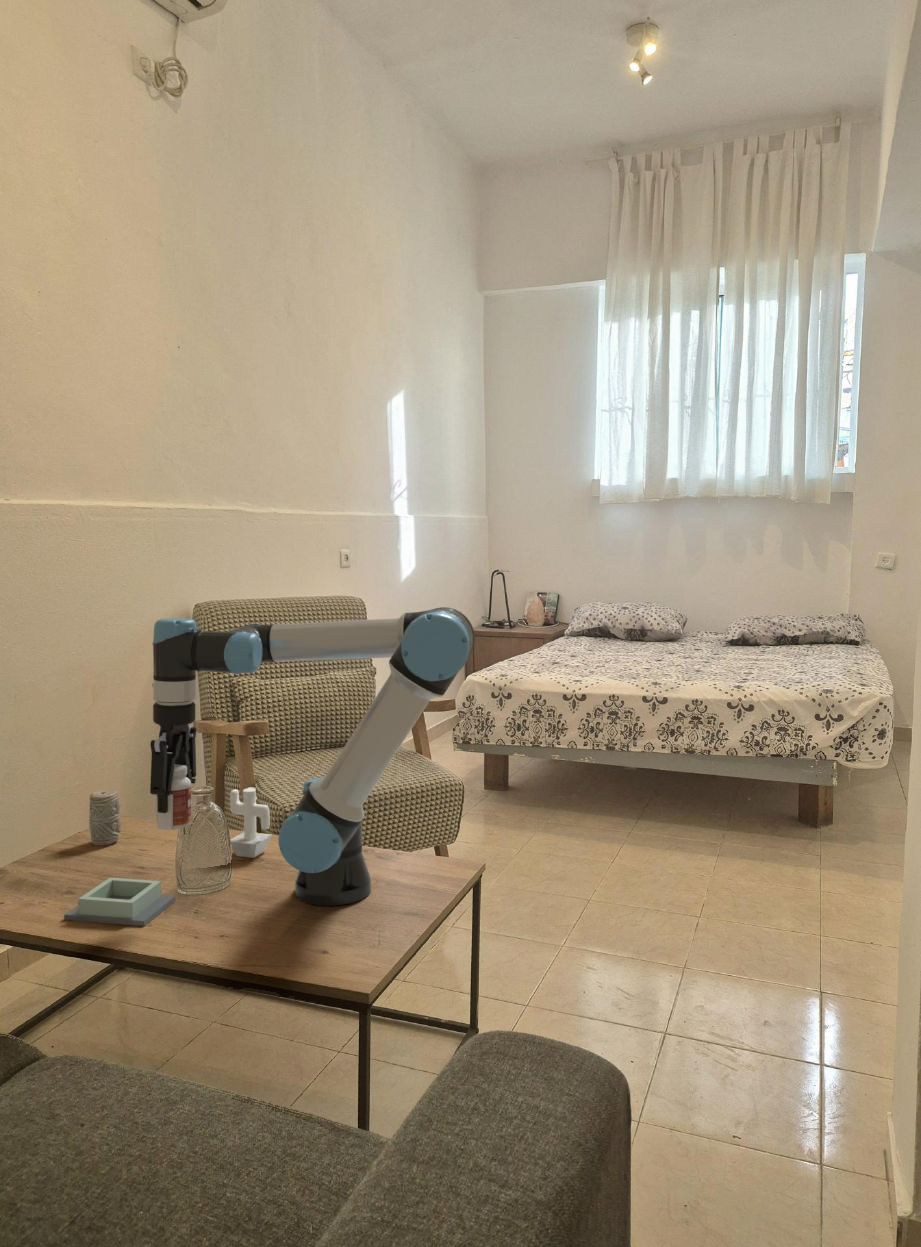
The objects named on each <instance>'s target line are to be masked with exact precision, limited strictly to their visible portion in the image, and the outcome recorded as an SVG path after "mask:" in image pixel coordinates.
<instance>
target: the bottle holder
mask: <svg viewBox="0 0 921 1247" xmlns="http://www.w3.org/2000/svg"><path fill="white" fill-rule="evenodd" d="M77 901H78V904H77V905H76V906H75V907H73V908H72V909H70V910H68V912H66V913H64V914H63V916H64V917H63V920H65V921H73V922H87V923H98V924H110V925H111V924H112V925H123V926H124V925H125V926H137V927H146V926H147V925H148V924H150V922H151V921H152V920H154V919H155V918H156V917H158V916H159V915H160V914H161V913H163V912H164V911H165V910H166V909H167V908H169V906H171V905H172V904H174V903H175V902H176V895H171V894H169V895H167V894H162V881H161V880H150V879H136V878H135V879H134V878H124V877H122V878H120V877H108V878H107V879H105V880H104V881H103V882H101V883H100V884H98V885H97V886H95V887H93V888H92V889H91V890H90V891H88V892H86V893H85V894H83V895H82V896H80V897H79V898H78V900H77Z"/></svg>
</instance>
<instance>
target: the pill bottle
mask: <svg viewBox="0 0 921 1247" xmlns="http://www.w3.org/2000/svg"><path fill="white" fill-rule="evenodd" d="M186 775H187V766H185V765H174V772H173V779H172V785H171V792H170V794H173V829H172V830H179V829H184V828H186V827H189V826H190V825H191V823H192V783H191V781H190V779H189V778H187V777H186Z"/></svg>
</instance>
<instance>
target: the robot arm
mask: <svg viewBox="0 0 921 1247" xmlns="http://www.w3.org/2000/svg"><path fill="white" fill-rule="evenodd" d="M474 631H475V630H474V628H473V625H472V623H471V621H470V620H469V619H468V617H467V616H466V615H465V614H464V613H462V612H461V611H459V610H457V609H455V608H451V607H448V606H447V607H437V608H433V609H428V610H422V611H413V612H404V613H402V615H401V616H400V617H398V618H397V617H396V618H380V619H379V618H376V619H358V620H337V621H335V620H334V621H316V622H314V621H313V622H298V623H297V622H295V623H276V624H259V623H251V624H250V623H249V624H245V625H244V626H240V627H238V628H234V629H233V628H232V629H230V630H227V631H219V630H218V631H215V630H211V631H210V630H199V629H198V628H197V622H196V621H195V619H192V618H185V617H184V618H183V617H167V618H166V617H165V618H160V619H158V620H156V621H155V623H154V626H153V640H152V641H153V642H152V644H151V645H152V648H153V649H152V650H153V651H152V654H153V655H152V656H153V658H152V659H153V665H152V666H153V676H152V677H153V682H152V684H151V687H152V689H153V692H152V693H153V700H154V704H152V720H153V723H154V724H156V725H158V726H159V727H160V728H159V733H158V738H157V739H151V740H150V749H151V750H150V752H151V760H150V762H151V763H150V786H149V788H150V789H149V790H150V791H149V793H150V794H151V795H153V796H155V795H156V828H157V830H169V831H170V830H174V829H173V794H170V792H171V785H172V779H173V772H174V765H185V766H187V775H186V777H187V778H189V779H190V781H191V784H195V783H196V781H197V780H196V779H197V778H196V776H197V753H196V748H197V747H196V736H197V727H194V726H193V727H192V726H189V725H190V724H193V723H195V721H196V703H195V702H194V700H196V699H197V694H196V692H197V691H196V690H197V686H196V685H197V682H196V681H197V680H196V679H197V678H196V675H197V674H196V672H213V673H228V674H229V673H230V674H235V675H240V674H253V673H256V672H257V671H258V669H259V668H260V666H261V664H267V663H268V664H269V663H270V664H271V663H281V662H282V663H283V662H285V663H286V662H287V663H289V662H306V661H307V662H308V661H309V662H310V661H311V662H312V661H333V660H334V661H335V660H338V661H339V660H358V659H359V660H361V659H362V660H363V659H385V658H388V659H389V660H388V665H389V669H390V675H389V676H388V677H387V679H386V681H385V682H384V684H383V686H382V687H381V688H380V690H379V692H378V693H377V695H376V696H375V698H374V699H373V701H372V703H371V704H370V706H369V707H368V709H367V711H366V712H365V713H364V716H362V718H361V720H360V722H359V723H358V725H357V726H356V728H355V730H354V731H353V733H352V734H351V736H350V737H349V738H348V740H347V742H346V743H345V745H344V746H343V748H342V749H341V752H340V753H339V754H338V755H337V758H336V760H335V761H334V762H333V764H332V766H331V767H330V769H329V770H328V771H327V772H326V773H327V774H326V775H325V777H318V778H316V777H315V778H312V779H308V780H306V781H305V782H304V783H303V790H302V798H301V799H300V801H299V802H298V803H297V805H296V806H295V809H294V810H293V811H292V813H291V814H290V815H289V816H288V817H287V818H285V820H284V821H283V822H282V824H281V827H280V830H279V832H278V838H277V839H278V840H277V842H278V846H279V851H280V853H281V855H282V858H284V860H285V861H286V863H288V865H290V866H291V867H292V868H294V869H296V870H298V872H297V876H296V879H295V884H294V885H295V886H294V888H295V890H294V893H295V897H296V898H297V899H298V900H299V901H301V902H304V903H306V904H310V905H315V906H324V907H325V906H326V907H328V906H329V907H330V906H331V907H333V906H342V905H344V906H345V905H348V904H353V903H356V902H358V901H361V900H363V899H365V898H367V897H368V896H369V895H370V894H371V892H372V891H371V890H372V880H371V876H370V875H371V874H370V872H369V870H368V866H367V864H366V860H365V858H364V854H363V820H364V818H365V811H364V807H363V806H364V804H365V803H366V802H365V801H367V799H368V797H369V796H370V794H372V793H371V792H372V791H373V789H374V788H375V786H376V785H377V783H378V782H379V780H380V779H381V777H382V775H383V774H384V773H385V771H386V769H387V767H389V765H390V763H391V762H392V760H393V759H394V757H395V755H396V754H397V752H398V751H399V749H400V748H401V746H402V744H403V743H404V741H405V740H406V739H407V737H408V735H409V734H410V732H411V731H412V729H413V728H414V726H415V725H416V722H417V721H418V720H419V718H420V716H421V715H422V714H423V712H424V710H425V709H426V708H427V706H428V704H429V703H430V701H431V700H433V699H435V698H436V699H437V698H442V697H443V696H444V695H445V693H446V692H447V690H448V689H449V688H450V686H451V685H452V683H453V681H454V680H455V678H456V677H457V675H458V673H459V672H460V671H461V670H462V669H463V668H464V667H465V665H466V663H467V661H468V659H470V658H469V657H470V655H471V653H472V651H473V649H474V646H475V641H476V640H475V632H474Z"/></svg>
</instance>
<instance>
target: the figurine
mask: <svg viewBox="0 0 921 1247" xmlns="http://www.w3.org/2000/svg"><path fill="white" fill-rule="evenodd" d="M239 793H240V792H239V790H238V789H235V788H234V789H232V790H231V791H230V792H229V805H230V807H229V808H230V812H231V813H232V814H233V815H238V816H243V831H242V832H241V833H239V834H238V835H236V836H234V837H233V838H230V840H231V845H232V847H231V849H232V851H233V852H234V853H235V855H236V857H243V858H249V859H250V858H252V859H255V858H256V857H258V856H260V855H261V854H263V853H264V852H265V850H266V848H267V847H268V845H269V844H270V841H271V839H272V837H273V834H271V833H270V834H268V833H267V834H266V833H260V832H259V833H258V832H257V817H258V818H259V819H260V823H261V824H260V825H261V826H260V827H261V829H262V830H268V829H269V828H270V825H271V823H270V822H271V820H270V819H271V817H270V816H271V815H270V814H271V813H270V808H269V806H268V805H267V804H259V803H258V804H257V800H258V797H257V788H255V787H254V786H253V787H251V786H249V787H247V788H244V789H243V790H242V797H243V802H241V801H240V795H239Z"/></svg>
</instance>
